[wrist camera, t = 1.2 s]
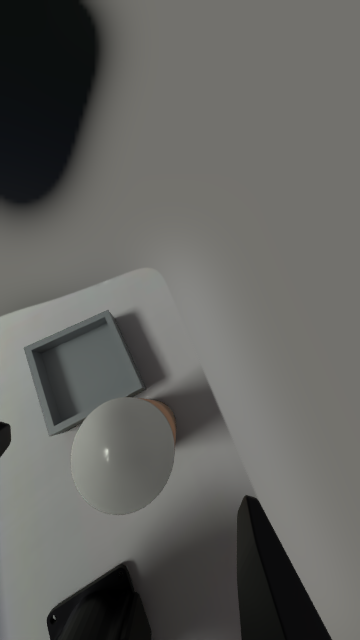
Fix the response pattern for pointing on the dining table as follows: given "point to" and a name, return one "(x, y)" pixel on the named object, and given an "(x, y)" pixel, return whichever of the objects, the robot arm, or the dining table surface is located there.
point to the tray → (81, 371)
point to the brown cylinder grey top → (124, 454)
